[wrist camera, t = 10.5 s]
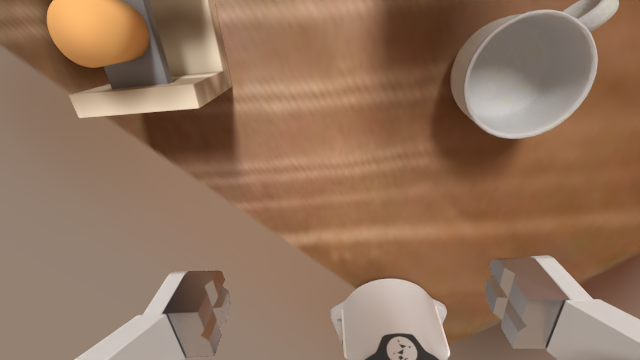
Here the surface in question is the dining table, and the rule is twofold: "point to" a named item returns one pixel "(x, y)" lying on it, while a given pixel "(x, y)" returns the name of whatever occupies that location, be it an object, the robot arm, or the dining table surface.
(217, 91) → the wooden napkin holder
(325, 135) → the dining table surface
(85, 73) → the dining table surface
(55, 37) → the brown egg
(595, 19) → the teacup
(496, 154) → the dining table surface
